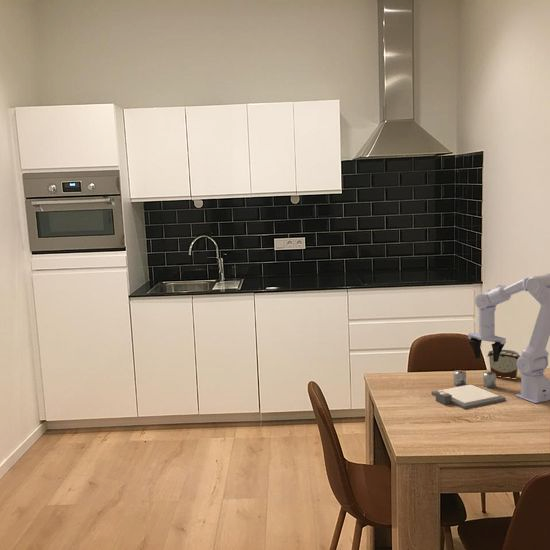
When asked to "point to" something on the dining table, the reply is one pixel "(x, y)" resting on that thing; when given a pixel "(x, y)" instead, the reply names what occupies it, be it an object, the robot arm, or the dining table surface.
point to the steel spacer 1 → (459, 378)
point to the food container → (504, 363)
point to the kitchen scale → (467, 396)
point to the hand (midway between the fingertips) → (486, 359)
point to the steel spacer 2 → (489, 379)
